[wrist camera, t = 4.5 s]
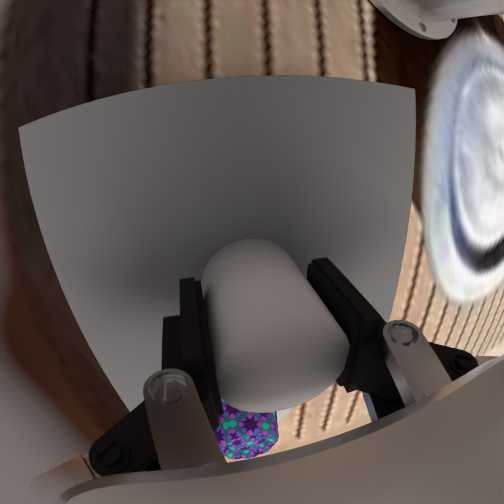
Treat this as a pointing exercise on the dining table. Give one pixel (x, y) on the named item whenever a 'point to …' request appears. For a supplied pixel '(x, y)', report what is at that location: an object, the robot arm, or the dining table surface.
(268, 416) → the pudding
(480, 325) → the dining table surface
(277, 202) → the lid
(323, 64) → the dining table surface
